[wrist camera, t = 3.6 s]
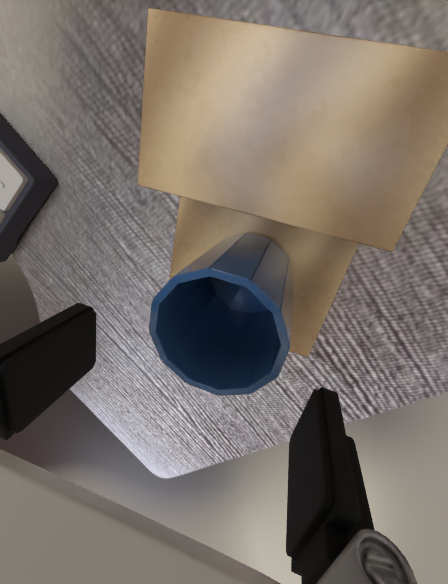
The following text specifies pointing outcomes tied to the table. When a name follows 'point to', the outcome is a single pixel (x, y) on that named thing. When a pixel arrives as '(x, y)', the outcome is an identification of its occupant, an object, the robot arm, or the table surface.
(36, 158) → the calculator
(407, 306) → the table surface
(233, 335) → the cup
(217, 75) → the step shelf
